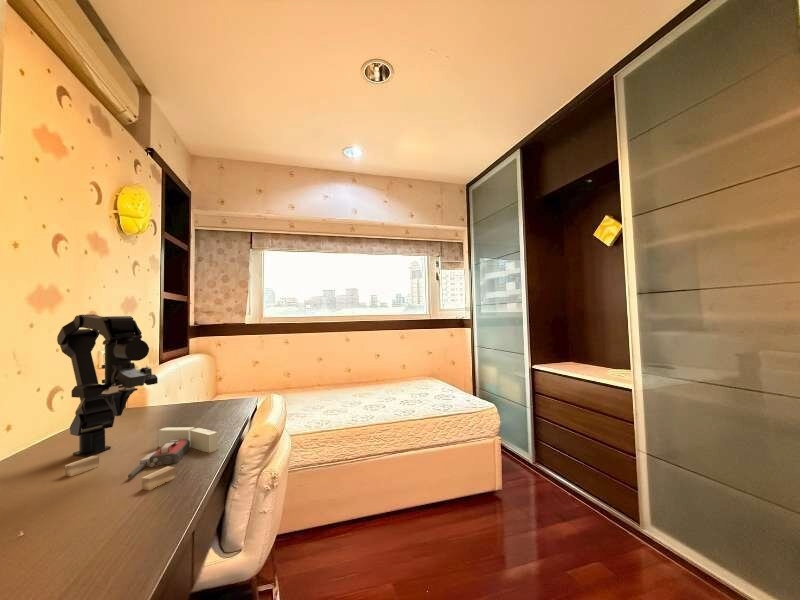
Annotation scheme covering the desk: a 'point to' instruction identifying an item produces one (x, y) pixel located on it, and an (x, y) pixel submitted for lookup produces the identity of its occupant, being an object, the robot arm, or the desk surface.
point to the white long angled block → (190, 437)
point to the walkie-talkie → (164, 455)
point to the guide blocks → (147, 481)
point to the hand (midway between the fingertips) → (118, 415)
